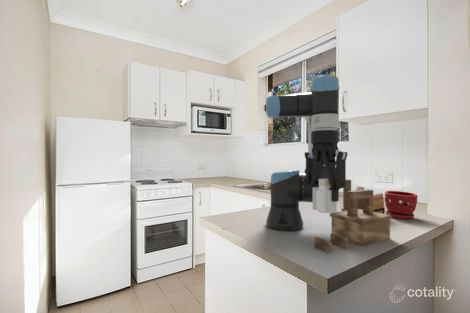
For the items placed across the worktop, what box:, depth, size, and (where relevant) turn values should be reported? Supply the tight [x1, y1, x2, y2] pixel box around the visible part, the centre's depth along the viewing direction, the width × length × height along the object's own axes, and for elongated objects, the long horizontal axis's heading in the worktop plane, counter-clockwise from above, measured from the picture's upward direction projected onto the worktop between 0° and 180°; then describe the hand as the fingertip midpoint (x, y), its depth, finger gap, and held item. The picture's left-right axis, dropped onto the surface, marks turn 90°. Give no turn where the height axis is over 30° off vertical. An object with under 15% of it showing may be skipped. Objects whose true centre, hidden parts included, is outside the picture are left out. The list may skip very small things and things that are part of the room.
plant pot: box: [384, 190, 418, 220], centre depth 119 cm, size 13×13×12 cm
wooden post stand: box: [329, 188, 393, 225], centre depth 89 cm, size 13×17×10 cm
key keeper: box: [313, 232, 349, 254], centre depth 78 cm, size 6×9×3 cm
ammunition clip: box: [373, 192, 386, 214], centre depth 114 cm, size 11×2×12 cm, turn 125°
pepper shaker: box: [315, 179, 330, 214], centre depth 71 cm, size 4×4×10 cm
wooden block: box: [341, 179, 365, 211], centre depth 121 cm, size 4×11×18 cm, turn 109°
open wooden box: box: [331, 217, 391, 247], centre depth 89 cm, size 12×16×7 cm
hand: (324, 210), depth 71 cm, fingers closed on pepper shaker, 5 cm apart
